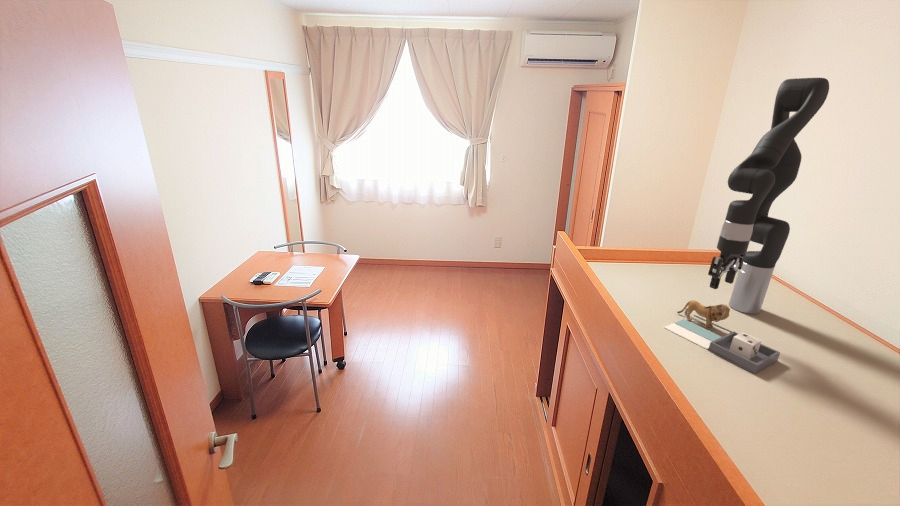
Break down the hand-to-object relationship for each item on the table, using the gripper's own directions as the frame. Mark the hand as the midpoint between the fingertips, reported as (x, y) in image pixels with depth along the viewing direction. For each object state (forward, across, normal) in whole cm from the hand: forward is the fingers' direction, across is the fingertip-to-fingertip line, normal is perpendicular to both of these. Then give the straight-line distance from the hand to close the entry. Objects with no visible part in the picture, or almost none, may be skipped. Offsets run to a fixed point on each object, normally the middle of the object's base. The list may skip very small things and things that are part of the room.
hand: (721, 285), depth 124 cm
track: (+15, +5, 0) cm, 16 cm away
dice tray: (+15, +7, +14) cm, 22 cm away
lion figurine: (+15, 0, -3) cm, 16 cm away
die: (+14, +7, +14) cm, 21 cm away
